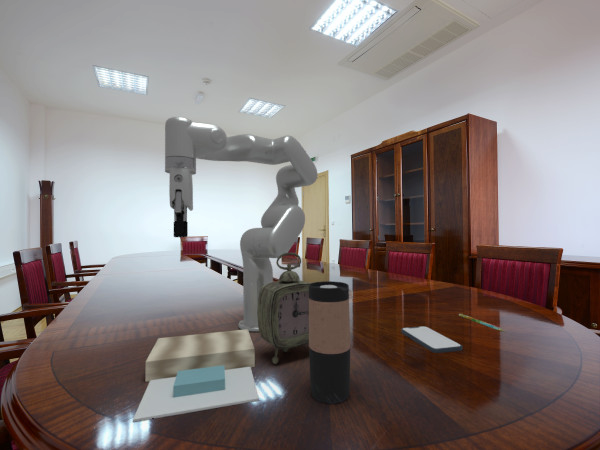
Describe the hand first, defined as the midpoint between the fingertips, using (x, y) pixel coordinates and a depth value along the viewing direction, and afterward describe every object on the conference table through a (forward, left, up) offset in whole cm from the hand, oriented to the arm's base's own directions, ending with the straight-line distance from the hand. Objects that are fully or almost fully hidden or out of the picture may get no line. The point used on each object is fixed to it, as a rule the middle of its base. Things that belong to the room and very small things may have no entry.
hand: (180, 237), depth 75 cm
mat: (-6, +22, -29) cm, 37 cm away
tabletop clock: (-26, +11, -29) cm, 41 cm away
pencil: (-91, +6, -30) cm, 96 cm away
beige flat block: (-6, +8, -29) cm, 31 cm away
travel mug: (-29, +30, -29) cm, 51 cm away
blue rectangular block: (-6, +21, -27) cm, 34 cm away
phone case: (-65, +14, -30) cm, 73 cm away
